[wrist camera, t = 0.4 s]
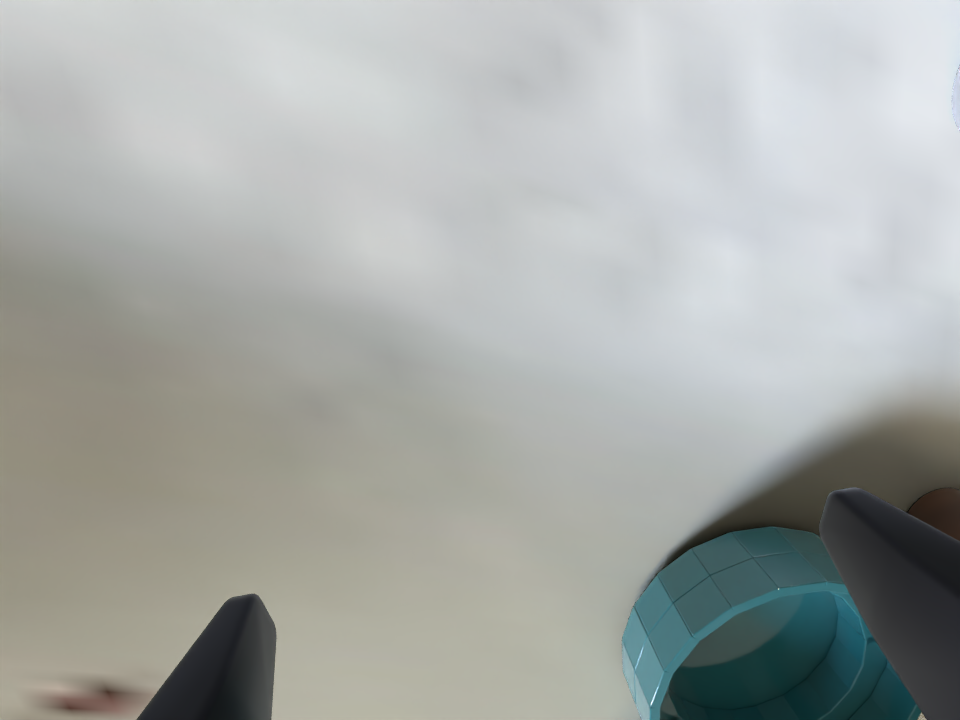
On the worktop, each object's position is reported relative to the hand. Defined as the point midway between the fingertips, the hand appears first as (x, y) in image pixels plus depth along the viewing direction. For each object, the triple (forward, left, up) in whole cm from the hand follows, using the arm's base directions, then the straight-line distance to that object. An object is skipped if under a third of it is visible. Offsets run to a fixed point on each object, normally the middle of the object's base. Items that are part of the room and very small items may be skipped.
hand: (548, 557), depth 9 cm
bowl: (-8, -20, -16) cm, 27 cm away
